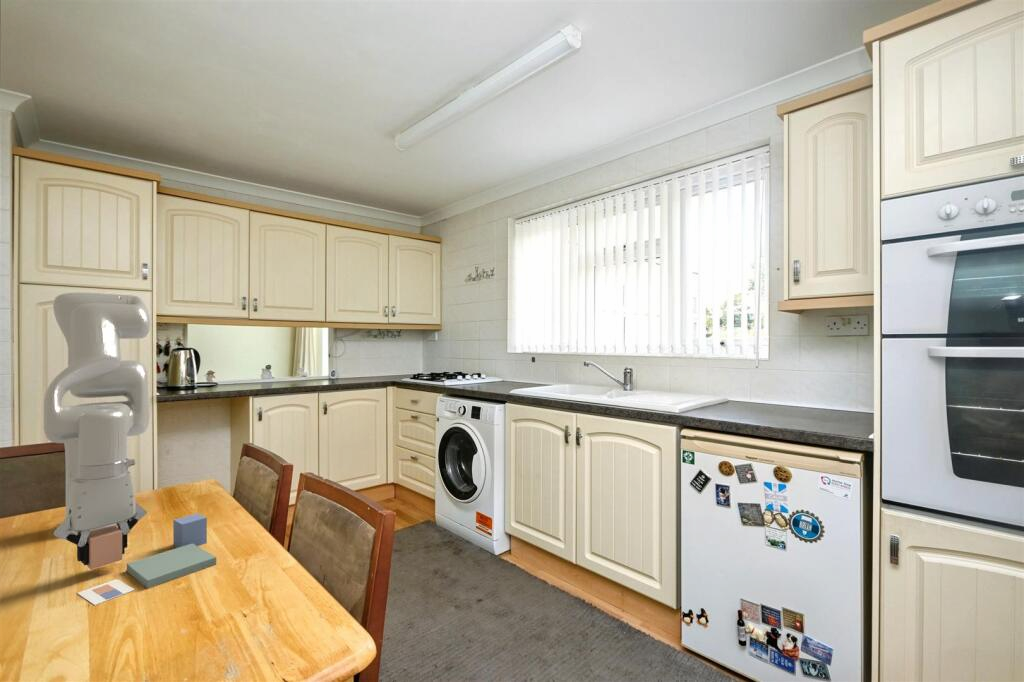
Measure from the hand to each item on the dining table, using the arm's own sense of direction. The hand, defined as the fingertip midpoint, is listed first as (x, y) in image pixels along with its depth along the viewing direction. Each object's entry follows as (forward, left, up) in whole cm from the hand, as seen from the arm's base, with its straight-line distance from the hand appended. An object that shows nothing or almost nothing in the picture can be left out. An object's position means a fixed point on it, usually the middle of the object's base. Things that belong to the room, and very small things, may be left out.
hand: (102, 556), depth 97 cm
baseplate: (+10, +9, -3) cm, 14 cm away
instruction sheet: (+11, -2, -3) cm, 11 cm away
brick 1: (0, 0, -1) cm, 1 cm away
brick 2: (0, +16, -3) cm, 16 cm away
